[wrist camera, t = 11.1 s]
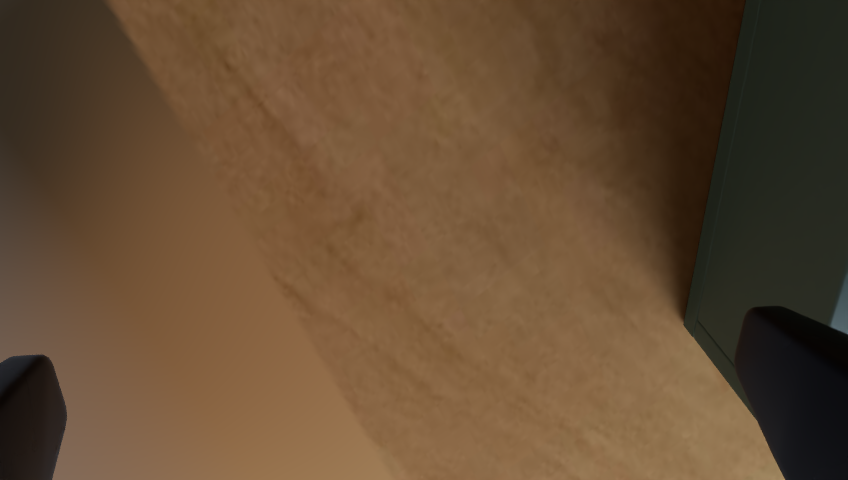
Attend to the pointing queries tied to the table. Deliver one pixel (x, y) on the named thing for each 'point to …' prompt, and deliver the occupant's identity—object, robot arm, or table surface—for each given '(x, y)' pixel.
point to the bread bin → (777, 180)
